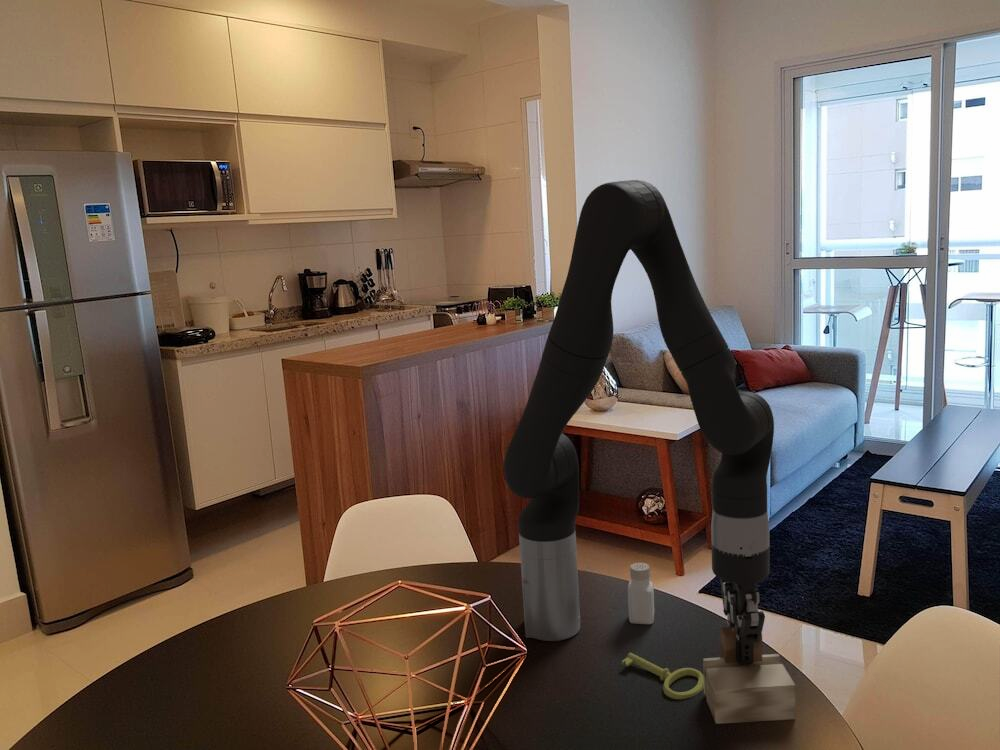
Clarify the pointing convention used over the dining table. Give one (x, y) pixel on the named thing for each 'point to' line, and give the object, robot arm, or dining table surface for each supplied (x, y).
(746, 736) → the dining table surface
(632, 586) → the salt shaker
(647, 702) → the dining table surface
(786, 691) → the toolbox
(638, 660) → the key
